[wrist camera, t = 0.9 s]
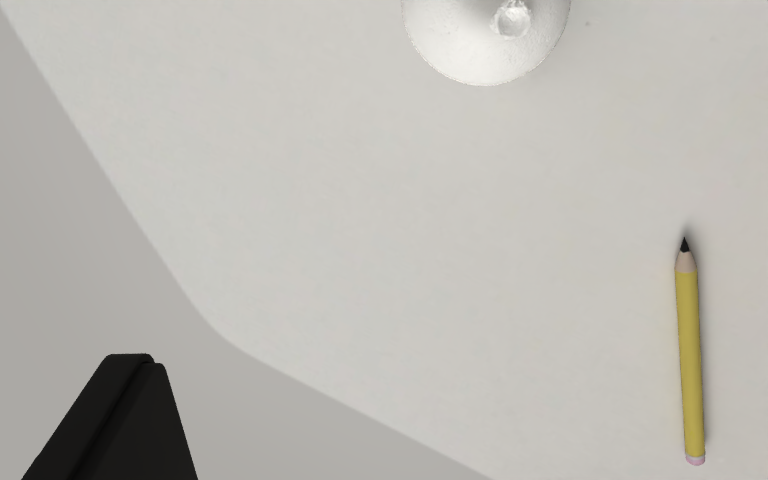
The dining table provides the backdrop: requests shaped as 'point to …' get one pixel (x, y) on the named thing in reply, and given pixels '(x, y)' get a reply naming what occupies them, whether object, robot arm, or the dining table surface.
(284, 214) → the dining table surface
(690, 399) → the pencil
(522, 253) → the dining table surface
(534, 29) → the garlic bulb
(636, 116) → the dining table surface
